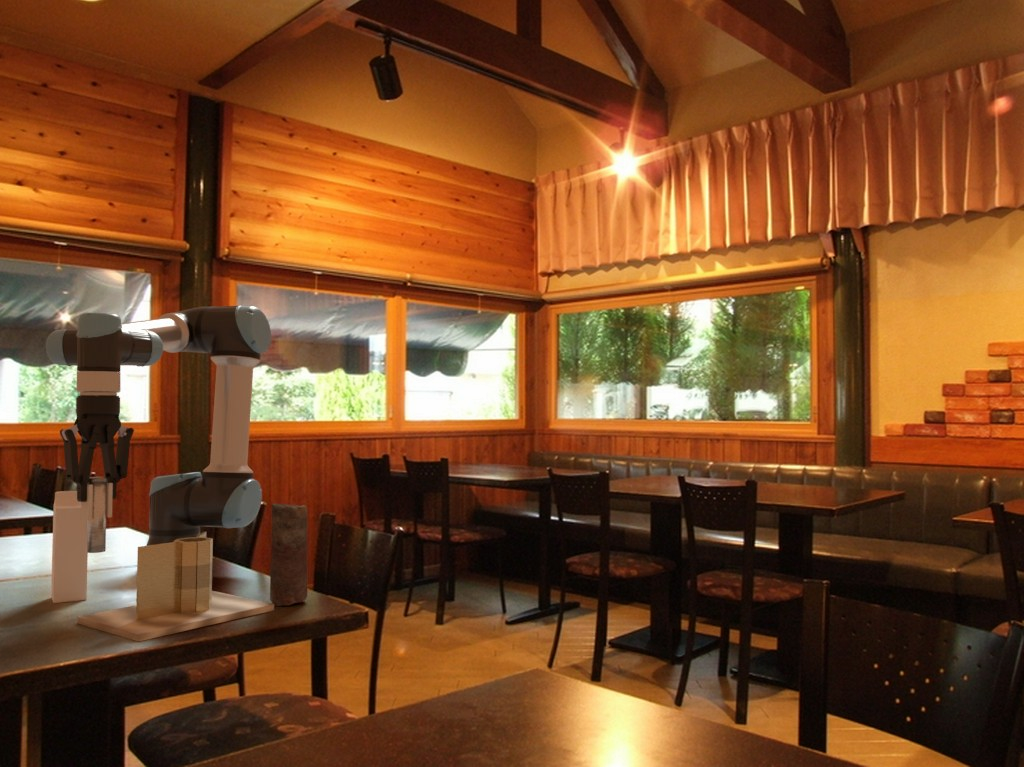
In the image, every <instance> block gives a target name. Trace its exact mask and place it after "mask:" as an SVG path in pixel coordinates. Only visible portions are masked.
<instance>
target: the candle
mask: <svg viewBox="0 0 1024 767" xmlns="http://www.w3.org/2000/svg"><path fill="white" fill-rule="evenodd" d="M270 508H271V514H270V516H271V519H270V520H271V521H270V522H271V525H270V526H271V527H270V532H271V533H270V534H271V535H270V536H271V537H270V571H269V572H270V573H269V574H270V575H269V576H270V577H269V578H270V579H269V581H270V582H269V589H270V590H269V601H270V603H272V604H274V607H283V606H292V605H294V604H298V603H299V604H301V603H302V602H304V601H306V600H307V598H308V583H309V582H308V506H307V505H306V504H303V505H297V504H284V503H272V504H271V507H270Z"/></svg>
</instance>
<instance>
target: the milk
mask: <svg viewBox="0 0 1024 767" xmlns="http://www.w3.org/2000/svg"><path fill="white" fill-rule="evenodd" d="M52 515H53V516H52V547H51V548H52V549H51V550H52V551H51V553H52V555H51V585H50V586H51V587H50V588H51V589H50V590H51V591H50V598H51V600H52V603H53V604H59V603H69V602H79V601H86V600H87V595H88V594H87V593H88V592H87V591H88V589H87V588H88V558H89V553H87V520H86V519H81V502H79V501H78V500H77V490H64V491H63V490H62V491H61V490H60V491H56V492H54V503H53V514H52Z"/></svg>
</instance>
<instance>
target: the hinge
mask: <svg viewBox="0 0 1024 767" xmlns="http://www.w3.org/2000/svg"><path fill="white" fill-rule="evenodd" d="M213 540H214V538H213V537H207V531H202V532H200V534H199V535H198V536H196V537H188V538H181V539H176V540H174V542H171V543H163V544H156V545H148V546H146V545H142V546H137V560H136V561H137V562H136V566H137V568H136V620H143V619H148V618H153V617H157V616H162V615H167V614H172V613H197V612H202V611H207V610H209V609H210V608H211V602H212V591H213V589H212V588H213V587H212V586H213V548H214V547H213V546H214V541H213Z"/></svg>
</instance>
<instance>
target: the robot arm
mask: <svg viewBox="0 0 1024 767" xmlns="http://www.w3.org/2000/svg"><path fill="white" fill-rule="evenodd" d="M270 326H271V325H270V323H269V320H268V319H267V316H266V314H265V313H264V312H263V310H261V309H260V308H258V307H256V306H251V305H249V306H248V305H242V304H240V305H227V306H226V305H222V306H221V305H220V306H198V307H194V308H189V309H184V310H179V311H174V312H170V313H168V312H167V313H164V314H161V315H160V316H159V317H158V318H154V319H146V320H140V321H139V320H138V321H131V322H124V323H122V318H121V316H120V315H118V314H116V313H108V312H107V313H106V312H85V313H82V314H79V317H78V320H77V328H73V329H72V328H64V329H56V330H54V331H52V332H51V333H50V334H49V335H48V336H47V339H46V342H45V349H46V355H47V357H48V358H49V361H51V362H52V363H53V364H55V365H56V366H57V365H58V366H67V367H72V366H74V367H75V366H76V392H77V393H79V395H77V396H76V398H75V401H76V402H75V413H76V419H75V421H74V422H73V423H74V424H73V425H71V426H70V427H68V428H62V429H61V430H59V435H60V436H61V439H62V441H63V450H64V451H63V453H64V465H65V467H64V468H65V478H66V481H67V482H71V483H74V484H75V485H76V491H77V500H78V501H79V502H81V519H86V520H91V519H92V506H93V485H92V484H88V482H89V477H91V476H90V475H91V470H92V465H93V459H94V453H95V449H96V448H97V445H98V446H99V448H100V450H101V458H102V466H103V473H104V477H108V482H107V484H106V518H108V519H109V518H113V500H115V499H116V498H117V485H118V484H117V483H119V482H120V481H121V480H122V479H126V478H127V476H128V469H129V458H130V457H129V455H130V446H131V439H132V437H133V434H134V432H135V429H134V428H133V427H127V426H125V425H123V424H122V422H121V420H120V413H121V397H120V396H119V395H118V393H120V392H121V366H136V367H143V368H144V367H148V366H149V367H150V366H153V365H155V364H157V363H158V362H159V361H160V359H161V358H162V356H163V351H165V352H167V353H173V354H175V353H181V352H182V353H185V352H186V353H198V354H210V360H211V361H212V362H213V363H214V364H215V366H216V372H215V387H214V403H213V414H212V415H213V416H212V419H213V420H212V432H211V444H210V445H211V446H210V447H211V448H210V459H209V460H210V461H209V462H210V463H209V465H208V466H207V467H205V468H204V469H203V470H202V473H201V471H195V472H186V473H179V474H178V473H177V474H170V475H161V476H156V477H154V478H152V480H151V481H150V489H149V493H148V497H149V512H148V514H149V518H148V519H149V521H148V522H149V524H148V526H149V527H148V528H149V530H148V539H147V542H146V545H145V546H148V545H156V544H163V543H171V542H174V540H176V539H181V538H188V537H196V536H198V535H199V534H201V527H206V528H207V527H209V528H225V529H233V528H244V527H247V526H249V525H250V524H251V523H252V522H253V521H254V520H255V518H256V517H257V515H258V512H259V511H260V508H261V505H262V500H263V499H262V498H263V491H262V490H263V489H262V488H261V484H260V482H259V481H258V480H257V479H254V471H253V470H252V469H251V468H250V467H249V465H248V461H249V460H248V459H249V443H250V442H249V441H250V427H251V425H250V424H251V410H252V397H253V396H252V392H253V381H254V380H253V378H254V374H253V373H254V368H255V367H256V366H257V365H258V364H259V363H260V362H261V354H263V355H264V354H265V353H266V352H268V350H269V349H270V348H269V347H270V346H271V343H272V330H271V327H270ZM77 433H78V434H77ZM78 435H79V436H80V437H81V438H80V439H81V441H80V448H81V449H80V456H78V454H79V452H78V451H79V450H78V442H77V437H78ZM116 435H117V436H118V438H117V443H116V452H115V438H114V437H115V436H116Z"/></svg>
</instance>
